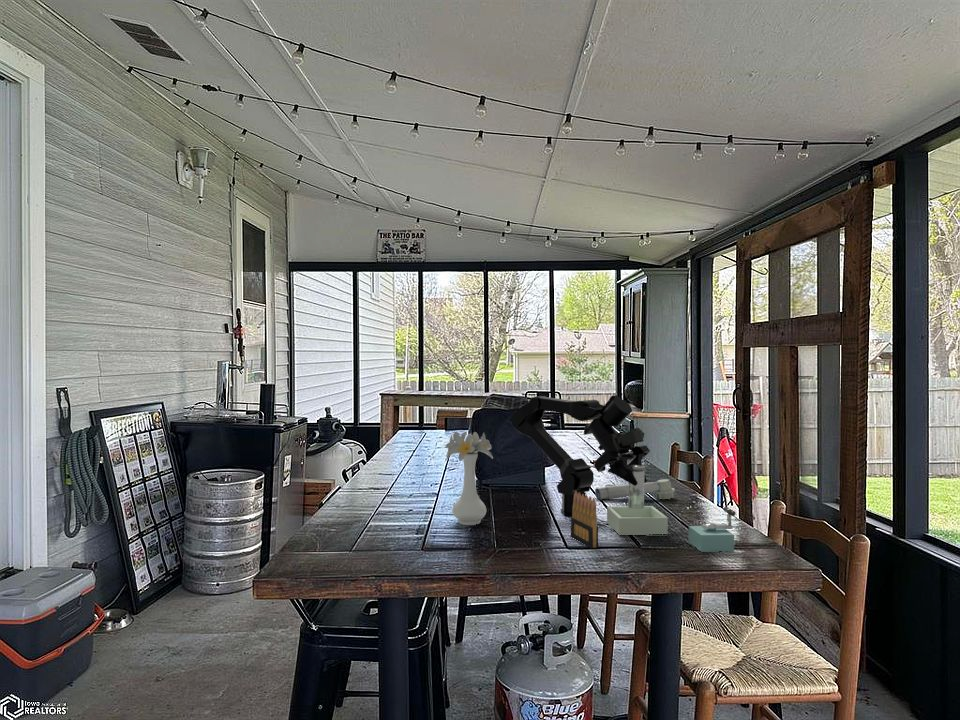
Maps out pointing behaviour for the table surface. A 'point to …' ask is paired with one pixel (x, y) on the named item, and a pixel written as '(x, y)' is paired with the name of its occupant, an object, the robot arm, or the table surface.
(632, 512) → the tray
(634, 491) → the pin
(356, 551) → the table surface
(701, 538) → the crank block
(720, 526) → the crank handle
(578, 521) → the ammunition clip
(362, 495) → the table surface
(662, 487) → the grey mallet
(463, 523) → the flower vase
